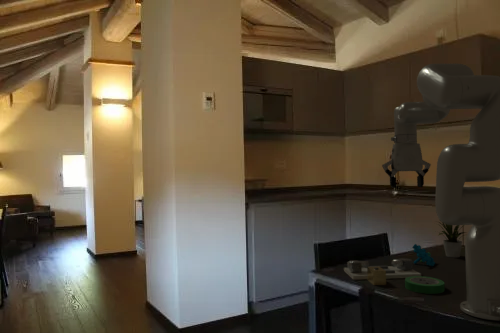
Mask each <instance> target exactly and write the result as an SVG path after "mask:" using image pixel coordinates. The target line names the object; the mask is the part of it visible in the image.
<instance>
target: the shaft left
mask: <svg viewBox="0 0 500 333" xmlns="http://www.w3.org/2000/svg"><path fill="white" fill-rule="evenodd" d="M346 266H347V268H348V269H349V270H350V271H351V272H352V273H362V268H367V267H369V266H370V262H369V261H368V260H359V259H357V260H355V259H353V260H351V259H350V260H349V261H347V262H346Z"/></svg>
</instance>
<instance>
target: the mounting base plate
mask: <svg viewBox="0 0 500 333" xmlns="http://www.w3.org/2000/svg"><path fill="white" fill-rule="evenodd" d="M369 267H381V268H382V269H384V270H385V271H386V280H389V279H406V278H407V277H412V276H422V273H421V272H418V271H416V270H415V269H413V268H412V270H409V271H404V270H401V269H398V268H397V267H393V266H392V265H391V266H390V265H389V266H388V265H369ZM343 271H344V273H346V274H347V275H348V276H349V277H350V278H351V279H352V280H354V281H356V280H368V272H367V268H362V273H352V272H351V271H350V270H349V269H348V267H343Z"/></svg>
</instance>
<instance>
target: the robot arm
mask: <svg viewBox="0 0 500 333" xmlns="http://www.w3.org/2000/svg"><path fill="white" fill-rule="evenodd" d="M416 88H417V90H418V91H419V93H420V94H421V97H422V100H423V101H405V102H402V103H401V104H400V105H398V106H397V107H395V108H394V110H393V117H394V118H393V122H394V129H393V130H394V136H393V137H390V141H391V142H394V144H392V147H391V148H392V150H391V158H390V159H391V160H389V161H386V162H385V163H384V164H382V165H381V167H382V168H383V170H384V172H385V173H386V175H387V176H388V177H389V185H390V188H392V189H396V188H397V177H396V176H395V175H396V174H397V173H398V172H415V173H416V174H417V176H416V181H417V182H416V184H417V185H416V187H418V188H423V187H424V185H425V179H424V178H425V176H426V174H427V173H428V172H429V170H430V168H431V166H432V164H431V163H430V162H427V161H426V160H424V159H423V155H422V153H423V152H422V148H421V144H420V143H418V132H417V130H418V128H417V125H420V124H421V125H425V124H426V125H427V124H428V125H429V124H436V123H439V122H441V121H442V120H444V119H445V118H447V116H448V115H449V114H450V111H451V110H475V109H477V110H480V111H479V112H478V113H476V116H474V118H473V119H472V122H471V124H470V127H469V140H468V143H455V144H450V145H447V146H445V147H444V148H443V149H442V150H441V152H440V153H439V155H438V157H437V162H436V176H435V178H436V179H435V202H434V203H435V206H434V207H435V212H436V216H437V218H438V220H439V222H440V223H442V222H443V223H444V224H447V225H453V226H457V225H460V226H463V225H464V226H471V227H470V228H469V230H468V232H467V233H466V235H465V241H464V242H465V244H464V246H465V247H464V248H465V249H464V251H465V252H464V255H465V281H466V282H465V283H466V284H465V285H466V287H465V288H466V300H463V301H462V302H461V303H459V307H460V310H461V311H462V312H463V313H464V314H467V315H469V316H470V317H475V318H478V319H483V320H489V321H499V322H500V187H498V186H497V187H496V186H487V185H486V186H465V183H480V182H482V183H483V182H494V181H499V180H500V76H498V75H493V74H491V75H489V74H488V75H487V74H482V75H481V74H479V75H478V74H476V75H475V73H474V71H473V69H472V68H471V67H469V66H468V65H467V64H464V63H463V64H462V63H430V64H426V65H425V66H423V67H422V68H421V70H420V71H419V73H418V75H417V78H416ZM389 166H391V170H390V168H389ZM443 223H442V224H443Z"/></svg>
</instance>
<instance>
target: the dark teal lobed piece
mask: <svg viewBox="0 0 500 333" xmlns="http://www.w3.org/2000/svg"><path fill="white" fill-rule="evenodd" d="M412 249H413V252H414V254H415V253H416V257H417V259H415V260H414V261H413V264H415V265H416V264H417V263H419V262H420V263H425V262H426V263H425V264H426V265H427V266H428V267H429V266H430V267H434V266H435V264H436V262H435V259H434V258H433V257H432V253H431V252H429V251H428V252H427V249H425V248H422V246H421V245H419V244H416V243H415V244H414V245H413V246H412Z"/></svg>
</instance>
